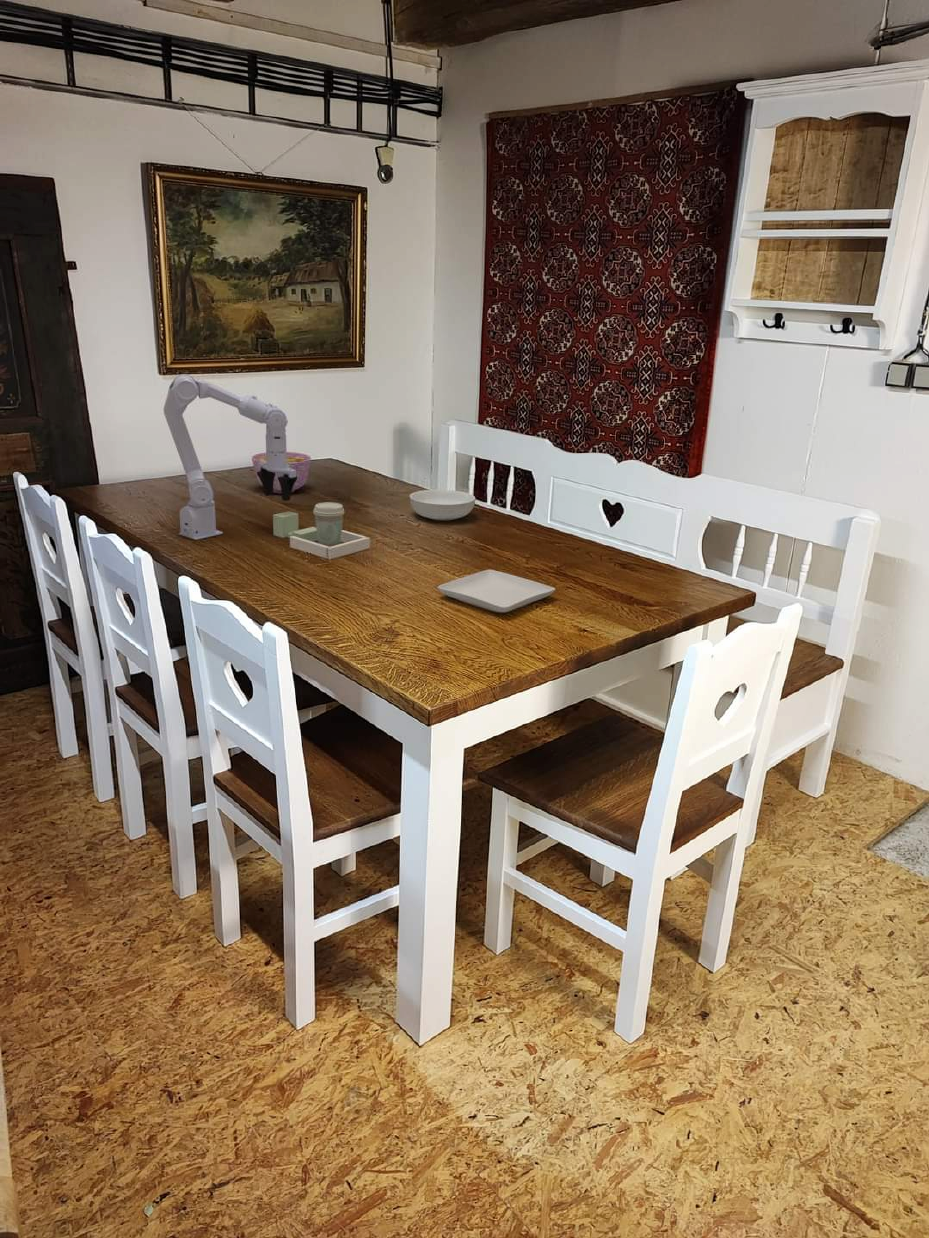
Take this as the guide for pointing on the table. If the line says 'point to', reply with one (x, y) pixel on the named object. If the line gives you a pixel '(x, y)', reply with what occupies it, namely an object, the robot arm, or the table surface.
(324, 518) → the coffee cup
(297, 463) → the bowl of food
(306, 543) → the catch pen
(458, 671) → the table surface
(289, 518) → the square dumbbell
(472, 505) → the serving bowl
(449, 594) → the salad plate
